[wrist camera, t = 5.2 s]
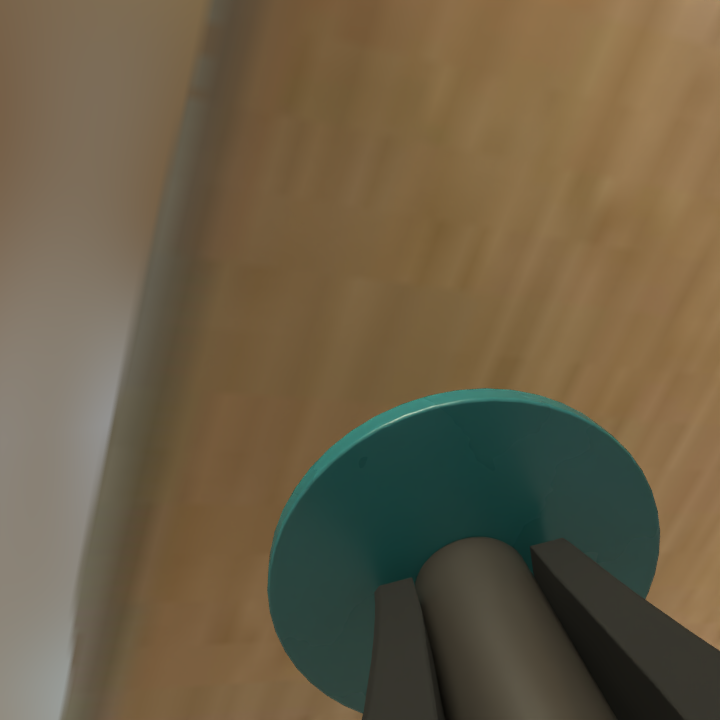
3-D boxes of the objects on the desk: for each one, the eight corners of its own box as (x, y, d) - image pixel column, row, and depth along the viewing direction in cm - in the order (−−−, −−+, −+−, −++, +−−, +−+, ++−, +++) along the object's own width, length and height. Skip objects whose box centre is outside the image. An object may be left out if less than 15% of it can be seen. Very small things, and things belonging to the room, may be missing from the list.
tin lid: (617, 331, 10) (888, 458, 5) (634, 631, 12) (825, 888, 8) (221, 432, 9) (146, 655, 5) (323, 714, 12) (334, 1025, 8)
